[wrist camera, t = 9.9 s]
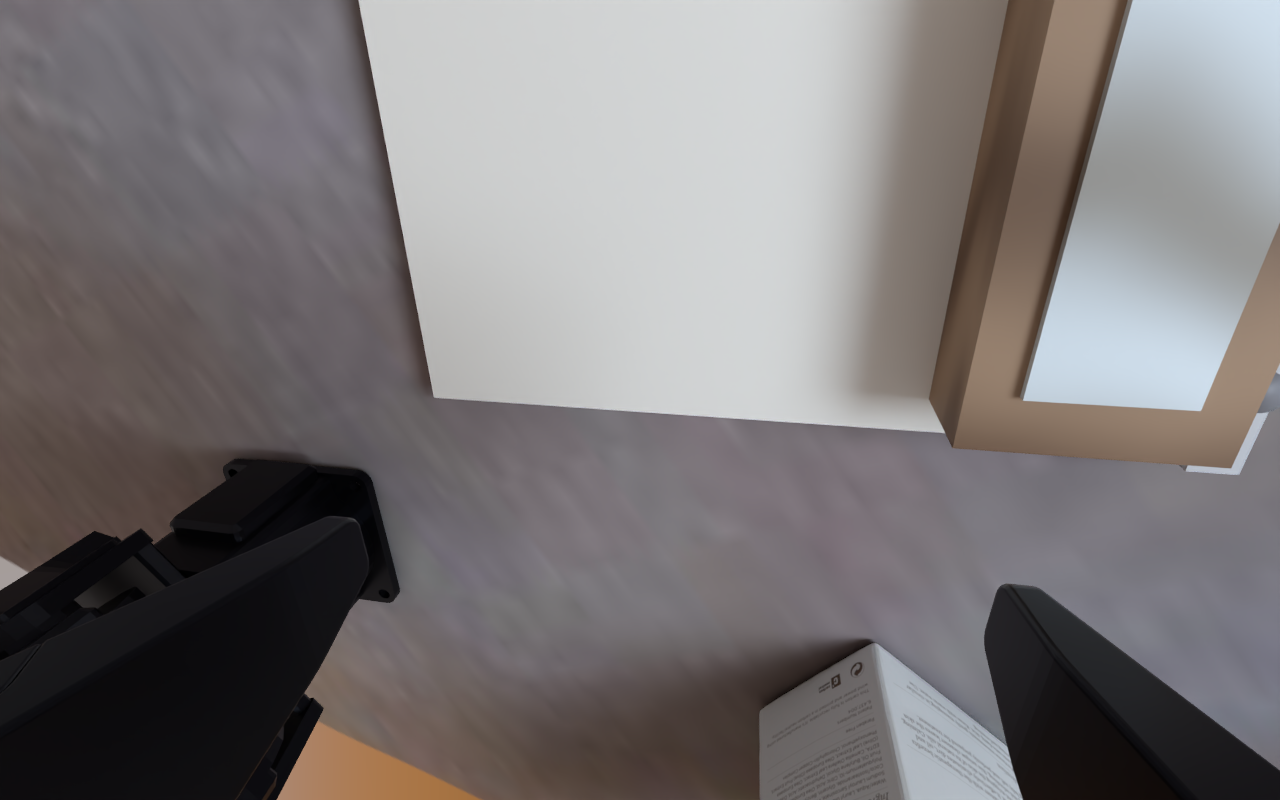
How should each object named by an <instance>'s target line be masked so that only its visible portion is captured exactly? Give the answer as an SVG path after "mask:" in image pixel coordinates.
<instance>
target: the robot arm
mask: <svg viewBox="0 0 1280 800" xmlns="http://www.w3.org/2000/svg"><path fill="white" fill-rule="evenodd" d="M223 473H224V476H225V478H226V481H225V482H224V483H222V484H221V485H219V486H218V487H217V488H215V489H214V490H212V491H211V492H209V493H208V494H207V495H205V496H204V497H202V498H201V499H199V500H198V501H197V502H195V503H194V504H192V505H191V506H190V507H188V508H187V509H185V510H184V511H182V512H181V513H180V514H178V515H177V516H175V517H174V519H173V520H172V521H171V522H170V527H171V530H172V532H171V533H169V534H168V535H167V536H165V537H164V538H162V539H161V540H160V541H158V542H157V543H156V544H154V545H153V544H152V543H151V542H152V541H153V539H152V538H151V537H150V536H149V535H148V534H147V533H146V532H145V531H144V530H143V529H142V528H141V529H139V530H138V531H136V532H135V533H133V534H132V535H130V536H128V537H127V538H125V539H124V540H122V541H121V540H120V539H119V538H118V537H117V536H116V537H115V538H114V537H111V536H108V535H105V534H102V533H99V532H96V531H94V532H92V533H91V534H89V535H88V536H86V537H84V538H83V539H81V540H80V541H78V542H77V543H75V544H74V545H72V546H70V547H69V548H67V549H66V550H64V551H63V552H61V553H59V554H58V555H56V556H55V557H53V558H52V559H50V560H48V561H47V562H45V563H44V564H42V565H41V566H39V567H37V568H36V569H34V570H33V571H31V572H29V573H28V574H26V575H25V576H23V577H21V578H20V579H18V580H17V581H15V582H13V583H12V584H10V585H8V586H7V587H5V588H4V589H2V590H0V800H276V799H277V798H278V796H279V794H280V792H281V790H282V788H283V786H284V784H285V782H286V781H287V779H288V777H289V775H290V773H291V771H292V769H293V767H294V765H295V763H296V761H297V759H298V757H299V756H300V754H301V752H302V750H303V748H304V746H305V744H306V742H307V740H308V738H309V736H310V734H311V733H312V731H313V729H314V727H315V725H316V723H317V721H318V719H319V717H320V715H321V713H322V711H323V709H324V708H323V707H322V706H321V705H320V704H319V703H318V702H317V701H316V700H315V699H314V698H309V697H308V696H307V695H306V694H305V693H304V692H305V691H306V689H307V688H308V686H309V685H310V683H311V681H312V680H313V678H314V676H315V675H316V673H317V671H318V670H319V668H320V666H321V664H322V663H323V661H324V659H325V657H326V655H327V653H328V652H329V650H330V648H331V646H332V644H333V642H334V640H335V638H336V636H337V634H338V632H339V630H340V628H341V626H342V624H343V622H344V620H345V618H346V616H347V614H348V612H349V610H350V609H351V608H352V607H353V605H354V604H355V603H356V602H357V601H358V599H364V600H371V601H378V602H386V603H390V602H392V601H394V599H395V598H396V597H397V595H398V594H399V592H400V588H399V584H398V580H397V576H396V572H395V568H394V564H393V561H392V557H391V553H390V549H389V545H388V541H387V537H386V533H385V529H384V525H383V521H382V517H381V514H380V510H379V506H378V502H377V498H376V494H375V490H374V486H373V482H372V480H371V478H370V477H369V476H368V475H367V474H366V473H365V472H363V471H359V470H351V469H340V468H330V467H319V466H311V465H308V464H298V463H287V462H276V461H266V460H246V459H234V460H232V461H231V462H229V463H228V464H226V465H225V466H224V467H223ZM356 482H357V483H359V484H360V485H358V484H357V483H356ZM984 645H985V652H986V656H987V660H988V665H989V669H990V674H991V678H992V682H993V687H994V691H995V695H996V700H997V704H998V708H999V713H1000V717H1001V721H1002V726H1003V730H1004V735H1005V739H1006V743H1007V748H1008V752H1009V756H1010V759H1011V763H1012V767H1013V771H1014V774H1015V777H1016V780H1017V783H1018V786H1019V790H1020V793H1021V795H1022V798H1023V800H1280V770H1278V769H1277V768H1276V767H1275V766H1273V765H1272V764H1271V763H1269V762H1268V761H1267V760H1265V759H1264V758H1263V757H1261V756H1260V755H1259V754H1257V753H1256V752H1255V751H1253V750H1252V749H1251V748H1249V747H1248V746H1247V745H1246V744H1244V743H1243V742H1242V741H1240V740H1239V739H1238V738H1236V737H1235V736H1234V735H1232V734H1231V733H1230V732H1228V731H1227V730H1226V729H1224V728H1223V727H1222V726H1220V725H1219V724H1218V723H1217V722H1215V721H1214V720H1213V719H1211V718H1210V717H1209V716H1207V715H1206V714H1205V713H1203V712H1202V711H1201V710H1199V709H1198V708H1197V707H1195V706H1194V705H1193V704H1191V703H1190V702H1189V701H1188V700H1186V699H1185V698H1184V697H1182V696H1181V695H1180V694H1178V693H1177V692H1176V691H1174V690H1173V689H1172V688H1170V687H1169V686H1168V685H1166V684H1165V683H1164V682H1162V681H1161V680H1160V679H1159V678H1157V677H1156V676H1155V675H1153V674H1152V673H1151V672H1149V671H1148V670H1147V669H1145V668H1144V667H1143V666H1141V665H1140V664H1139V663H1137V662H1136V661H1135V660H1133V659H1132V658H1131V657H1130V656H1128V655H1127V654H1126V653H1124V652H1123V651H1122V650H1120V649H1119V648H1118V647H1116V646H1115V645H1114V644H1112V643H1111V642H1110V641H1108V640H1107V639H1106V638H1104V637H1103V636H1102V635H1101V634H1099V633H1098V632H1097V631H1095V630H1094V629H1093V628H1091V627H1090V626H1089V625H1087V624H1086V623H1085V622H1083V621H1082V620H1081V619H1079V618H1078V617H1077V616H1075V615H1074V614H1073V613H1072V612H1070V611H1069V610H1068V609H1066V608H1065V607H1064V606H1062V605H1061V604H1060V603H1058V602H1057V601H1056V600H1054V599H1053V598H1052V597H1050V596H1049V595H1048V594H1046V593H1045V592H1044V591H1042V590H1041V589H1039V588H1037V587H1034V586H1026V585H1016V584H1004V585H1001V586H1000V587H999V589H998V590H997V592H996V595H995V599H994V602H993V605H992V609H991V612H990V615H989V619H988V622H987V626H986V629H985V635H984Z"/></svg>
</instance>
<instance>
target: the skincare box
mask: <svg viewBox="0 0 1280 800" xmlns="http://www.w3.org/2000/svg"><path fill="white" fill-rule="evenodd" d="M759 742H760V754H759V763H760V776H759V778H760V800H1023V798H1022V795H1021V793H1020V790H1019V786H1018V783H1017V780H1016V777H1015V774H1014V771H1013V767H1012V763H1011V759H1010V756H1009V752H1008V748H1007V746H1006V745H1004V744H1003V743H1002V742H1001V741H999V740H998V739H997V738H996V737H994V736H993V735H992V734H991V733H990V732H988V731H987V730H986V729H985V728H983V727H982V726H981V725H980V724H978V723H977V722H976V721H975V720H973V719H972V718H971V717H970V716H968V715H967V714H966V713H965V712H963V711H962V710H961V709H960V708H958V707H957V706H956V705H954V704H953V703H952V702H951V701H949V700H948V699H947V698H946V697H944V696H943V695H942V694H941V693H939V692H938V691H937V690H936V689H934V688H933V687H932V686H931V685H929V684H928V683H927V682H926V681H924V680H923V679H922V678H920V677H919V676H918V675H917V674H915V673H914V672H913V671H912V670H910V669H909V668H908V667H906V666H905V665H904V664H903V663H901V662H900V661H899V660H898V659H896V658H895V657H894V656H893V655H891V654H890V653H889V652H887V651H886V650H885V649H884V648H882V647H881V646H880V645H878V644H877V643H872V644H870V645H868V646H866V647H864V648H862V649H860V650H859V651H857V652H855V653H853V654H852V655H850V656H848V657H846V658H845V659H843V660H841V661H840V662H838V663H836V664H835V665H833V666H831V667H830V668H828V669H826V670H824V671H822V672H821V673H819V674H817V675H816V676H814V677H813V678H811V679H809V680H808V681H806V682H804V683H803V684H801V685H799V686H798V687H796V688H795V689H793V690H791V691H790V692H788V693H786V694H784V695H783V696H781V697H779V698H778V699H776V700H775V701H773V702H772V703H770V704H768V705H767V706H765V707H764V708H763V709H761V710H760V713H759Z"/></svg>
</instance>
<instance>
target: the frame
mask: <svg viewBox="0 0 1280 800" xmlns="http://www.w3.org/2000/svg"><path fill="white" fill-rule="evenodd" d="M1279 364H1280V0H1008V5H1007V10H1006V15H1005V20H1004V25H1003V30H1002V35H1001V40H1000V45H999V50H998V55H997V60H996V65H995V70H994V75H993V80H992V85H991V90H990V95H989V100H988V105H987V110H986V115H985V120H984V125H983V130H982V135H981V140H980V145H979V150H978V155H977V160H976V165H975V170H974V175H973V181H972V186H971V191H970V196H969V201H968V206H967V211H966V216H965V221H964V226H963V231H962V236H961V241H960V246H959V251H958V256H957V261H956V266H955V271H954V276H953V281H952V286H951V291H950V296H949V301H948V306H947V311H946V316H945V321H944V326H943V331H942V336H941V341H940V346H939V351H938V356H937V361H936V366H935V371H934V376H933V381H932V386H931V391H930V396H929V401H930V403H931V405H932V407H933V409H934V411H935V413H936V415H937V417H938V419H939V421H940V423H941V425H942V427H943V429H944V431H945V434H946V436H947V438H948V440H949V442H950V444H951V446H952V448H958V449H972V450H985V451H999V452H1013V453H1026V454H1040V455H1054V456H1067V457H1081V458H1094V459H1108V460H1122V461H1135V462H1149V463H1163V464H1176V465H1190V466H1204V467H1217V468H1232V466H1233V464H1234V461H1235V459H1236V457H1237V455H1238V453H1239V451H1240V448H1241V446H1242V444H1243V442H1244V440H1245V438H1246V436H1247V433H1248V431H1249V429H1250V427H1251V425H1252V423H1253V420H1254V418H1255V416H1256V414H1257V412H1258V410H1259V408H1260V405H1261V403H1262V401H1263V399H1264V397H1265V395H1266V392H1267V390H1268V388H1269V386H1270V384H1271V382H1272V379H1273V377H1274V375H1275V373H1276V371H1277V369H1278V367H1279Z"/></svg>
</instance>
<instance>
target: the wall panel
mask: <svg viewBox="0 0 1280 800" xmlns="http://www.w3.org/2000/svg"><path fill="white" fill-rule="evenodd" d="M358 1H359V6H360V11H361V16H362V22H363V27H364V32H365V37H366V43H367V48H368V53H369V58H370V64H371V69H372V74H373V79H374V85H375V90H376V95H377V101H378V106H379V111H380V116H381V122H382V127H383V132H384V137H385V143H386V148H387V153H388V158H389V164H390V169H391V174H392V180H393V185H394V190H395V195H396V201H397V206H398V211H399V216H400V222H401V227H402V232H403V237H404V243H405V248H406V253H407V258H408V264H409V269H410V274H411V280H412V285H413V290H414V295H415V301H416V306H417V311H418V316H419V322H420V327H421V332H422V337H423V343H424V348H425V353H426V358H427V364H428V369H429V374H430V380H431V385H432V390H433V395H434V398H446V399H460V400H475V401H489V402H504V403H518V404H533V405H547V406H562V407H576V408H591V409H605V410H619V411H634V412H648V413H663V414H677V415H692V416H706V417H721V418H735V419H750V420H764V421H779V422H793V423H807V424H822V425H836V426H851V427H865V428H880V429H894V430H909V431H923V432H938V433H945V431H944V429H943V427H942V425H941V423H940V421H939V419H938V417H937V415H936V413H935V411H934V409H933V407H932V405H931V403H930V401H929V396H930V391H931V386H932V381H933V376H934V371H935V366H936V361H937V356H938V351H939V346H940V341H941V336H942V331H943V326H944V321H945V316H946V311H947V306H948V301H949V296H950V291H951V286H952V281H953V276H954V271H955V266H956V261H957V256H958V251H959V246H960V241H961V236H962V231H963V226H964V221H965V216H966V211H967V206H968V201H969V196H970V191H971V186H972V181H973V175H974V170H975V165H976V160H977V155H978V150H979V145H980V140H981V135H982V130H983V125H984V120H985V115H986V110H987V105H988V100H989V95H990V90H991V85H992V80H993V75H994V70H995V65H996V60H997V55H998V50H999V45H1000V40H1001V35H1002V30H1003V25H1004V20H1005V15H1006V10H1007V5H1008V0H358ZM1279 407H1280V364H1279V367H1278V369H1277V371H1276V373H1275V375H1274V377H1273V379H1272V382H1271V384H1270V386H1269V388H1268V390H1267V392H1266V395H1265V397H1264V399H1263V401H1262V403H1261V405H1260V408H1259V410H1258V412H1257V414H1256V416H1255V418H1254V420H1253V423H1252V425H1251V427H1250V429H1249V431H1248V433H1247V436H1246V438H1245V440H1244V442H1243V444H1242V446H1241V448H1240V451H1239V453H1238V455H1237V457H1236V459H1235V461H1234V464H1233V466H1232V468H1217V467H1204V466H1190V465H1179V466H1181V467H1182V468H1183V469H1184V470H1185V471H1191V472H1205V473H1218V474H1232V475H1239V474H1240V472H1241V469H1242V467H1243V465H1244V463H1245V461H1246V459H1247V457H1248V455H1249V453H1250V450H1251V448H1252V446H1253V444H1254V442H1255V440H1256V438H1257V436H1258V433H1259V431H1260V429H1261V427H1262V425H1263V423H1264V421H1265V419H1266V417H1267V414H1268V412H1270V411H1273V410H1275V409H1277V408H1279Z"/></svg>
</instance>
